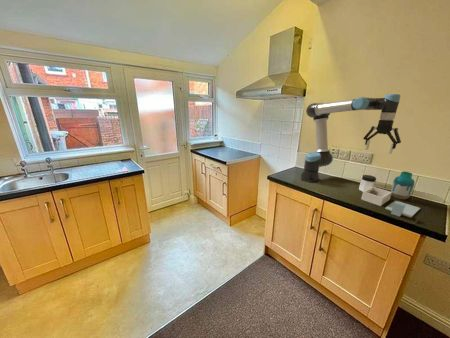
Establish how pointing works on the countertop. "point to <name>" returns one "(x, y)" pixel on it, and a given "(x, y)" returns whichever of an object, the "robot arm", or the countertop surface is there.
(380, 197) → the tub
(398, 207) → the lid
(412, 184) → the green capped bottle
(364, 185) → the jar
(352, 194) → the countertop surface
